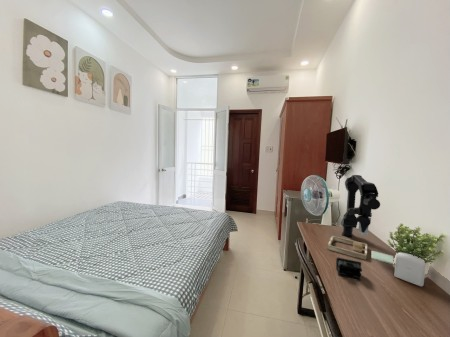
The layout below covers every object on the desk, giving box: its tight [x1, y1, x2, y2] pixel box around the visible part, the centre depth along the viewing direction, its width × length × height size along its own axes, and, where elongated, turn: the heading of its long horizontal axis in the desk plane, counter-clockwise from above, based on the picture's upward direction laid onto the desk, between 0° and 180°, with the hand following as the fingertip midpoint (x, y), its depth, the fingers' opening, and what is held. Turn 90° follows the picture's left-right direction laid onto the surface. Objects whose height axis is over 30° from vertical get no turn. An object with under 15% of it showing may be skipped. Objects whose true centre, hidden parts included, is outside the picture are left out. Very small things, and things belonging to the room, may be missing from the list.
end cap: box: [335, 257, 363, 281], centre depth 99 cm, size 10×7×7 cm
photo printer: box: [393, 252, 426, 287], centre depth 95 cm, size 10×4×12 cm, turn 39°
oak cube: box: [352, 241, 363, 253], centre depth 123 cm, size 4×4×4 cm
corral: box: [326, 235, 368, 261], centre depth 125 cm, size 18×20×2 cm
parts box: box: [357, 222, 370, 236], centre depth 119 cm, size 4×4×6 cm
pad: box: [370, 250, 395, 265], centre depth 115 cm, size 10×10×1 cm
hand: (363, 231), depth 119 cm, fingers closed on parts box, 4 cm apart
